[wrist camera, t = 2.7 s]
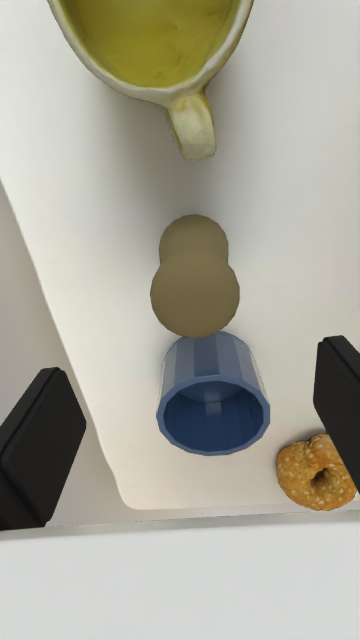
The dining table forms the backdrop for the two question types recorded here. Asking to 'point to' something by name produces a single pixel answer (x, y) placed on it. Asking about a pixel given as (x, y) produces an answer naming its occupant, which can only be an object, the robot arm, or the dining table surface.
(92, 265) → the dining table surface
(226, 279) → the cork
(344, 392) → the robot arm
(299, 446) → the bagel
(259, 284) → the dining table surface
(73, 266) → the dining table surface
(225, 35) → the mug
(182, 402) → the crock
